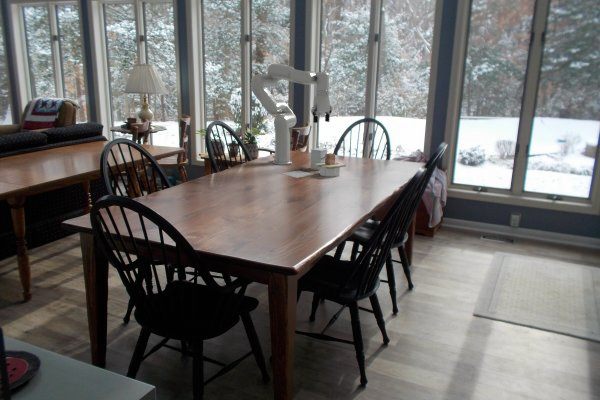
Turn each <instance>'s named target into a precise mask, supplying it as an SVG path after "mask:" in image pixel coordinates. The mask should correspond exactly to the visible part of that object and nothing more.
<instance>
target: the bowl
mask: <svg viewBox="0 0 600 400" xmlns="http://www.w3.org/2000/svg"><path fill="white" fill-rule="evenodd" d="M340 169H341V167H340V168H334V169H327V168H322V167H320V170H319V175H320V176H322V177H331V178H332V177H339V176H340V172H341V171H340Z"/></svg>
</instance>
